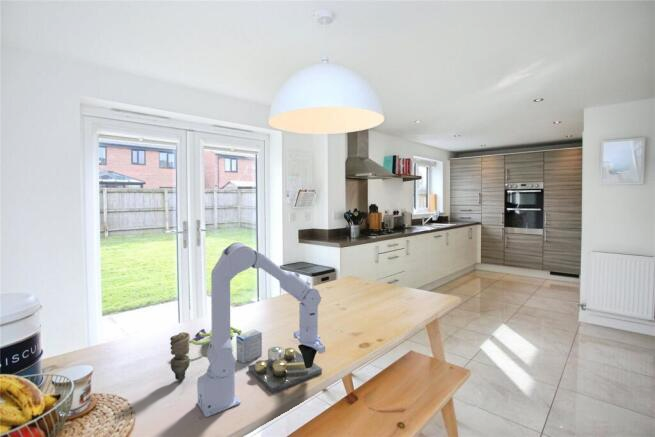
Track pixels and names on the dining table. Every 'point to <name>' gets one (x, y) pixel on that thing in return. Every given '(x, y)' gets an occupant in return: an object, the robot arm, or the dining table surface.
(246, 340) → the medicine box
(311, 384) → the dining table surface
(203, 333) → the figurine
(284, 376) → the levelling base
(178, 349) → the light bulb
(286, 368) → the brass lever handle
